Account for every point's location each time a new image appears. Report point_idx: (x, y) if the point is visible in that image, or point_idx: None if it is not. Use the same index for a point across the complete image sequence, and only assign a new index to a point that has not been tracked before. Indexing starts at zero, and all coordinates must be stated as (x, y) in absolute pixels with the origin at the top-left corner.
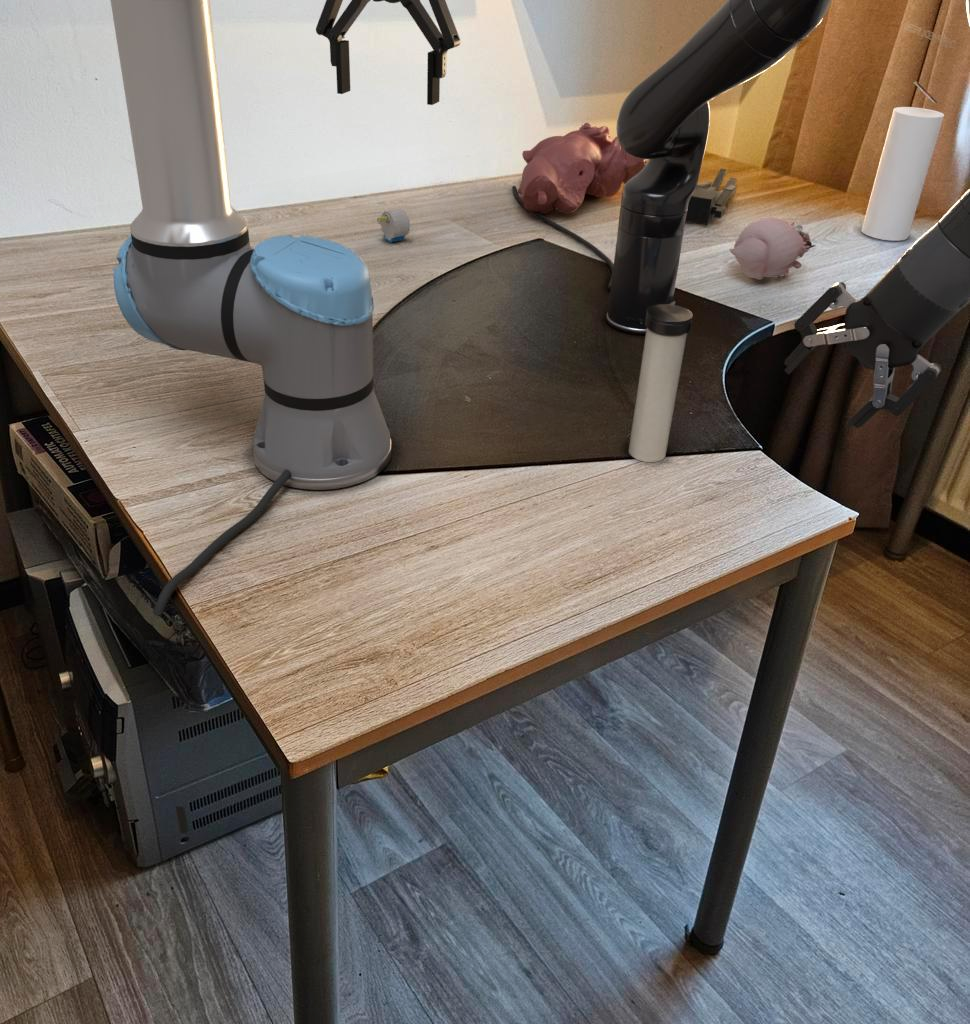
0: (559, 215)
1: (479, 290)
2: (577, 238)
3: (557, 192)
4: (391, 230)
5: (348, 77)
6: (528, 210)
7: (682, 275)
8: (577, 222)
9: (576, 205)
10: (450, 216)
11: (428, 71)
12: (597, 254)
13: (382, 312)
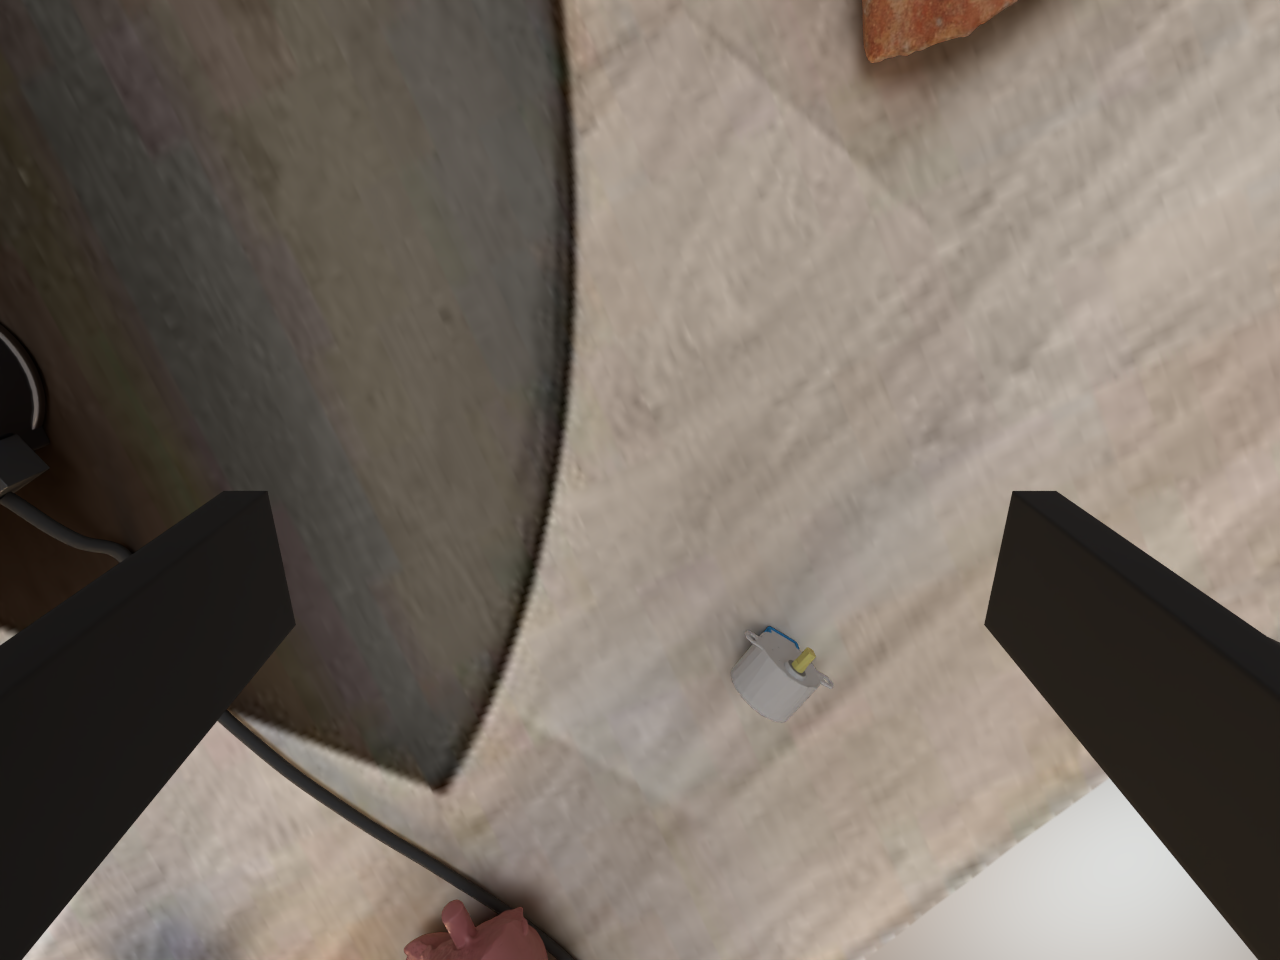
0: None
1: (419, 417)
2: (348, 809)
3: (429, 958)
4: (773, 645)
5: (1042, 660)
6: (538, 929)
7: None
8: (410, 911)
9: (404, 950)
10: (701, 841)
11: (77, 628)
12: (264, 743)
13: (587, 140)
